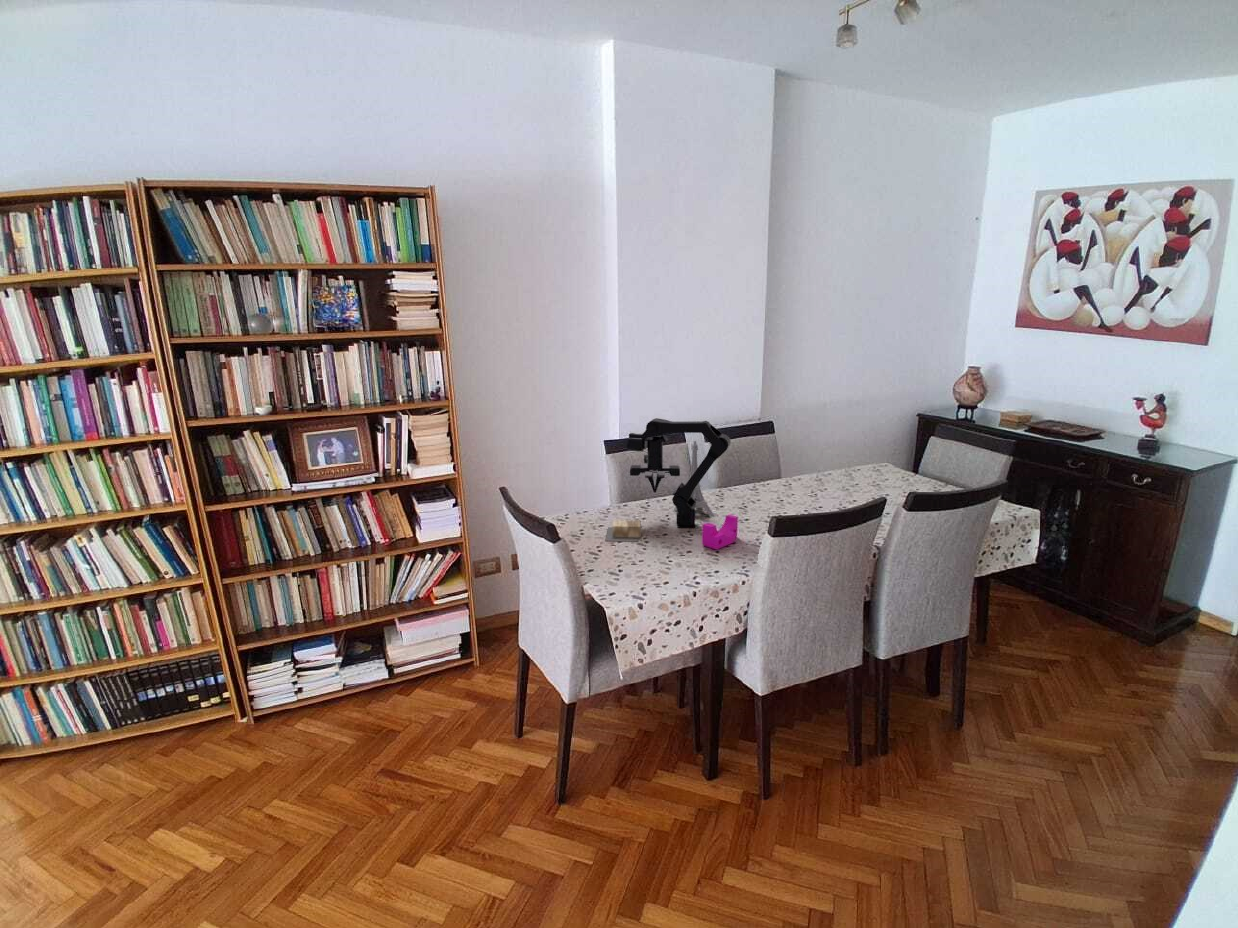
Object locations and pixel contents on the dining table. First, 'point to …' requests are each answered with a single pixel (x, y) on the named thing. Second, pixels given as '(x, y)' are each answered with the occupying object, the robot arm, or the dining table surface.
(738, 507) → the dining table surface
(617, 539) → the placemat
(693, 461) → the eiffel tower
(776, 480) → the dining table surface
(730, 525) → the toy block
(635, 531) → the oak block
